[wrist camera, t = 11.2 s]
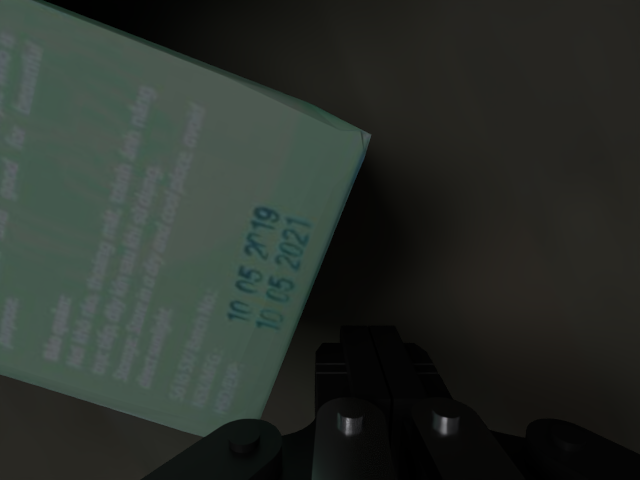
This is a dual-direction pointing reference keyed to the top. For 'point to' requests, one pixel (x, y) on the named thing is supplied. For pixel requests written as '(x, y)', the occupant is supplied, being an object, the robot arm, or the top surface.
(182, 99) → the box
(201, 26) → the top surface
